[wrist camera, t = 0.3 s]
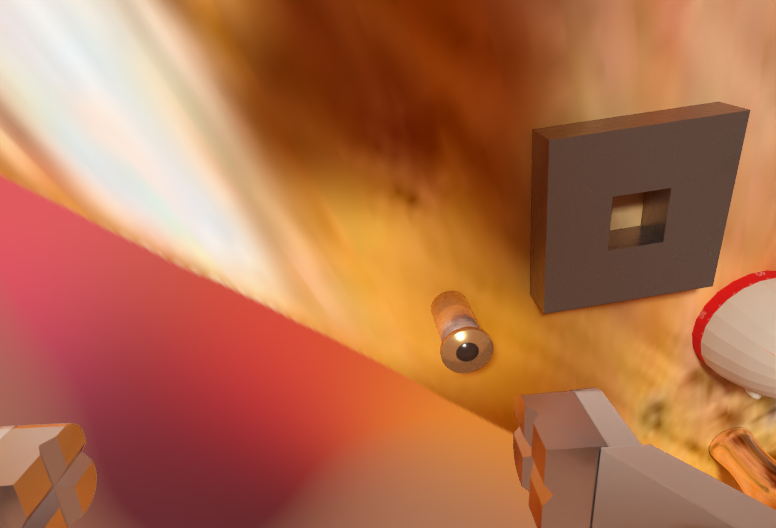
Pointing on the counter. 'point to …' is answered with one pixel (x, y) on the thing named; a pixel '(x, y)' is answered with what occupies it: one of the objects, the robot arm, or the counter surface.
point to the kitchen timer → (741, 333)
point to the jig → (622, 177)
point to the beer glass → (747, 463)
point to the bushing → (460, 334)
